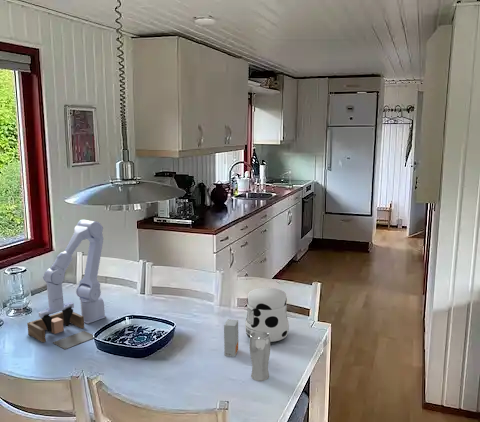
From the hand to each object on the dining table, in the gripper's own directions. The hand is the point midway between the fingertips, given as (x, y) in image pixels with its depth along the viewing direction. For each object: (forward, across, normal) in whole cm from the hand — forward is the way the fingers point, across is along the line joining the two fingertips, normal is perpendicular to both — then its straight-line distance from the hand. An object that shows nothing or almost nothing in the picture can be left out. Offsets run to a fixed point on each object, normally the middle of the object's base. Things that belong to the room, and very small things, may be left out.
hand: (58, 328), depth 202 cm
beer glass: (+2, -24, +88) cm, 91 cm away
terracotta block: (+2, 0, -1) cm, 2 cm away
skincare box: (+2, -31, +69) cm, 75 cm away
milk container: (+2, -50, +71) cm, 87 cm away
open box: (+1, 0, +5) cm, 5 cm away
